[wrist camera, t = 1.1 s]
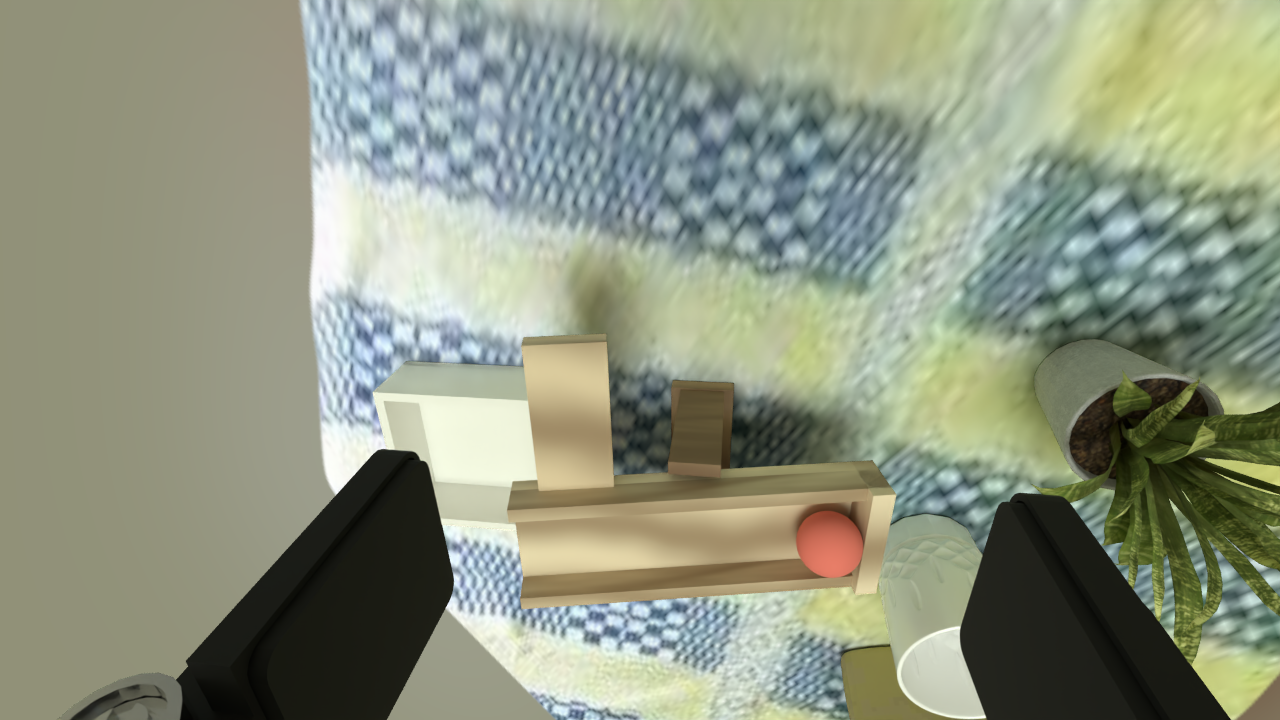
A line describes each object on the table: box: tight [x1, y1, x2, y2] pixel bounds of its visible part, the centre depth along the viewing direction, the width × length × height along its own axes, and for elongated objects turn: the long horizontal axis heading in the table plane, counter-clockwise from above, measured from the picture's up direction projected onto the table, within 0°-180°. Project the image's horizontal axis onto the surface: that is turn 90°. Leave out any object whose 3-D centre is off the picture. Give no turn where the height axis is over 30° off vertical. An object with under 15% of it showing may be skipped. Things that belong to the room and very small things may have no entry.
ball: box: [796, 511, 863, 578], centre depth 33 cm, size 4×4×4 cm
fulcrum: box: [668, 380, 734, 478], centre depth 38 cm, size 10×4×9 cm, turn 1°
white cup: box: [879, 514, 986, 719], centre depth 39 cm, size 8×8×10 cm
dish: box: [373, 361, 537, 531], centre depth 42 cm, size 11×12×4 cm
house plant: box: [1031, 339, 1280, 665], centre depth 29 cm, size 14×14×16 cm
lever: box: [507, 334, 896, 609], centre depth 32 cm, size 16×20×4 cm
